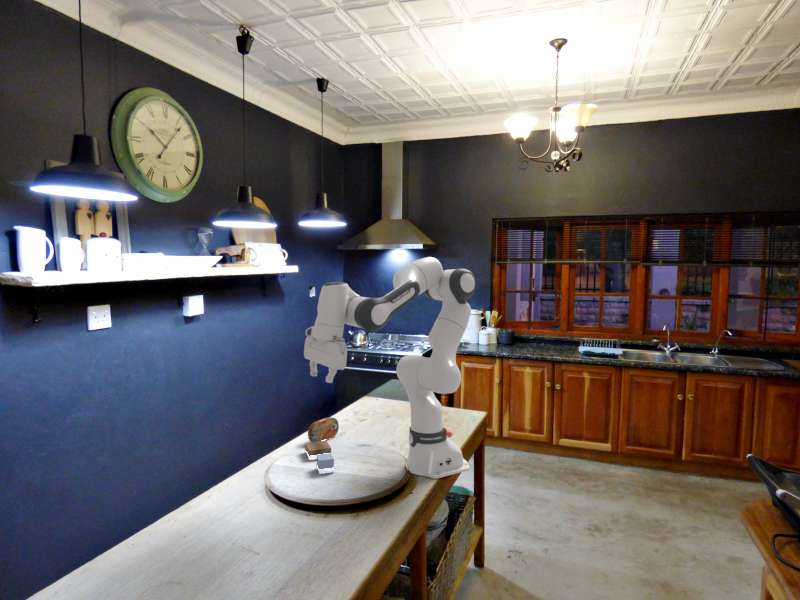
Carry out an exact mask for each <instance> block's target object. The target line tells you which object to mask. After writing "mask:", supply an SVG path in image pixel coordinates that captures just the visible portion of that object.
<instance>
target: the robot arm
mask: <svg viewBox="0 0 800 600" xmlns="http://www.w3.org/2000/svg"><path fill="white" fill-rule="evenodd" d="M392 285H393V289H392V290H390V292H388V293H386V294H385V295H384V296H381V297H366V296H360V294H357V293H356V292H355V291H354V290H353V289H352V288H351V287H350V286H349V284H348V283H347V282H343V281H329V282H325V283H324V284H323V285H322V287H321V290H320V293H319V298H318V302H317V307H316V309H317V315H316V319H315V320H314V325H313V326H310V327H308V328H306V330H305V336H306V338H305V340H304V345H303V348H304V349H303V356H304V359H306V360H309V367H310V368H309V370H310V372H309V376H311V377H317V376H318V373H319V370H318V366H317V365H318V364H319V365H321V366H324V367H328V373H327V375H326V376H325V382H326V383H328V384H333V381H334V378H335V376H336V374H337V373H338V370H339V371H340V370H341V371H344V370H345V368H347V367H346V366H347V360H348V347H347V342H346V340H345V338H344V337H343V335H344V328H345V324H346V325H347V326H352V327H355V328H360V329H363V330H365V331H368V332H378V331H380V330H381V329H382V328H384V327H385V326H386V324H387V323H388V322H389V321H390V319H391V318H392V317H393V316H394V315H395V314H396V313H398V312H399V311H401V310H402V309H403V308H405V307H406V306H408V305H409V304H410V303H412V302H413V301H414V300H415V299H417V297H419V295H421V294H423V293H424V295H425V296H426V298H427V299H429V300H431V301H435V302H440V301H442V307H441V310H440V312H439V313H438V316H437V318H436V320H435V321H434V324H433V326H432V328H431V329H430V331H429V333H428V336H427V341H428V344H429V345H430V347H431V349H432V353H431V355H430V357H425V356H422V355H418V354H416V355H415V354H414V355H413V354H412V355H411V354H410V355H404V356H403V357H401V358H400V359H399V360H398V362H397V364H396V376H397V378H398V380H399V381H400V382H401V384H402V385H403V386H404V389H405V391H406V394H407V396H408V397H407V398H408V400H409V404H410V405H409V406H410V407H409V408H410V427H409V433H408V444H409V449H408V455H407V459H406V462H407V464H408V466H409V471H410V472H409V471H408V472H409V473H410V474H413V475H417V476H421V477H428V478H431V479H436V480H437V479H441V478H444V477H448V476H452V475H456V474H460V473H464V472H468V471H469V470H470V464H469V461H467V460H466V459H465V458H464V456H463V452H462V450H461V448H460V447H459V446H458V445H457V444H456V443H455V442H454V441H452V440H450V438H451V437H452V436H453V432H452V431H450V430H449V429H447V428H445V427H443V421H444V420H443V419H444V418H443V416H444V415H443V414H444V409H443V406H442V403H441V402H440V401H439V399H437V397H436V395H435V393H436V394H453V393H455V392H456V391H457V390H458V389H459V387H460V385H461V382H462V372H461V370H460V368H459V366H458V365H457V352H458V349H459V346H460V343H461V341H462V338H463V337H464V334H465V332H466V330H467V327H468V325H469V321H470V317H471V312H472V308H471V306H470V304H469V302H470V301H472V300H473V297H474V296H473V295H474V294H475V292H476V288H477V287H476V286H477V282H476V278H475V275H474V273H473V272H472V271H471V270H469V269H466V268H456V269H454V268H453V269H445V270H444V269H443V266H442V263H441V262H440V260H438V259H437V258H435V257H432V256H427V257H423V258H419V259H416V260H414V261H411V262H410V263H407V264H406V265H403V266H402V267H400V268H399V269H398V270H397V271H395V273H394V275H393V278H392Z"/></svg>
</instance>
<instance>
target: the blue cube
mask: <svg viewBox="0 0 800 600" xmlns="http://www.w3.org/2000/svg"><path fill="white" fill-rule="evenodd" d="M317 465H318V468H319V469H324V468H332V467H334V468H335V458H334V456H333V454H332V452H331V453H330V454H321V455H317V460H316V466H317Z"/></svg>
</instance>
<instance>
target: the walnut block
mask: <svg viewBox="0 0 800 600" xmlns="http://www.w3.org/2000/svg"><path fill="white" fill-rule="evenodd" d="M305 450H306V451H307V452H308V454H309V456H310V455H317V454H323V453H330V452H331V453H332V447H331V445H330V444H329V442H328V440H325V441H317V442H311V441H310V442H309V441H308V442H305V443H304V451H305Z"/></svg>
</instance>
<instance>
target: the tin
mask: <svg viewBox="0 0 800 600" xmlns="http://www.w3.org/2000/svg"><path fill="white" fill-rule="evenodd" d="M339 426H340V425H339V421H338V419H336V417H325V418H322V419H319V420H317V421H314V422H312V423H311V424H310V425H309V427H308V429H307V438H308V440H309V441H310V442H317V441H321V440H324V439H329V438H331V439H333V438H335V436H337V434H338V432H339V428H340V427H339ZM329 440H330V439H329Z"/></svg>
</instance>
